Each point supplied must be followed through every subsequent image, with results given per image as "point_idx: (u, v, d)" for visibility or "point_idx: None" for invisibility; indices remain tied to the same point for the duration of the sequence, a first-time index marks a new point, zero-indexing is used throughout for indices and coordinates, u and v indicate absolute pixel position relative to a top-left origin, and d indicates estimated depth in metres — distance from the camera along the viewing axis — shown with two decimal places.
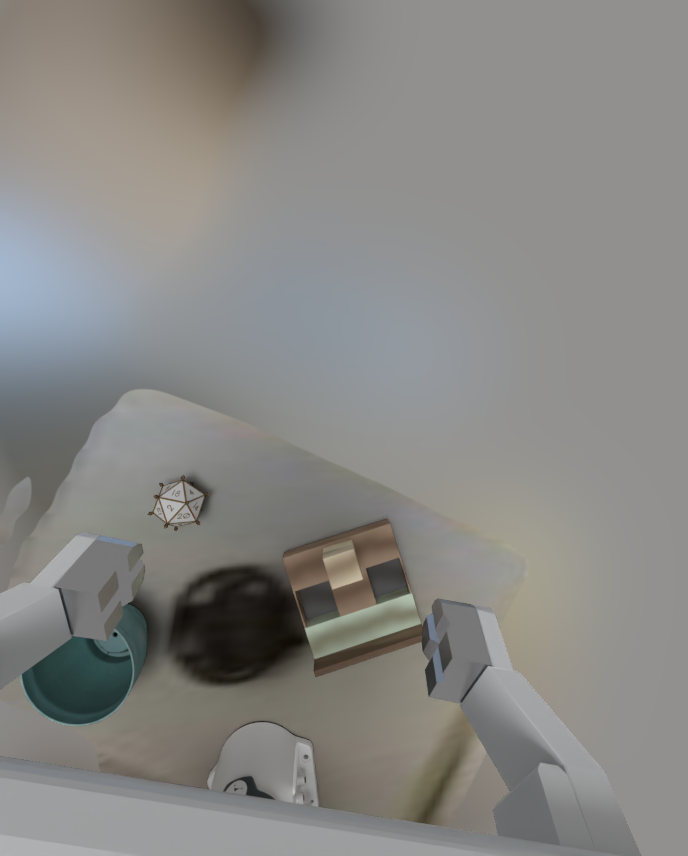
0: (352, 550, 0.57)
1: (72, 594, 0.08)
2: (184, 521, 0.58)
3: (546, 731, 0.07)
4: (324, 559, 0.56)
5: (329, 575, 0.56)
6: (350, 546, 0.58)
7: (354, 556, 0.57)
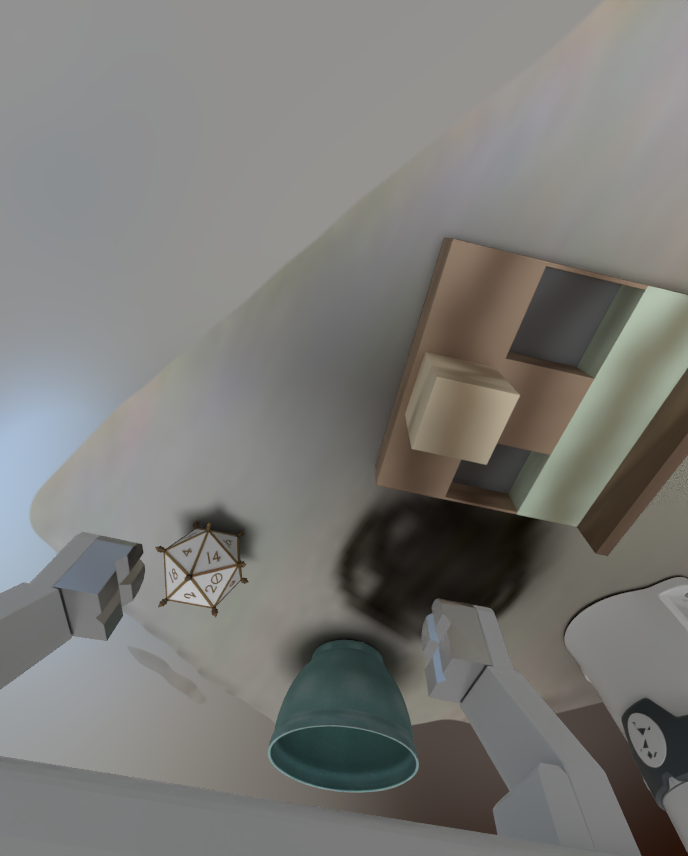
0: (438, 380, 0.21)
1: (72, 594, 0.08)
2: (226, 582, 0.34)
3: (546, 731, 0.07)
4: (414, 446, 0.23)
5: (454, 454, 0.23)
6: (430, 374, 0.22)
7: (455, 384, 0.21)
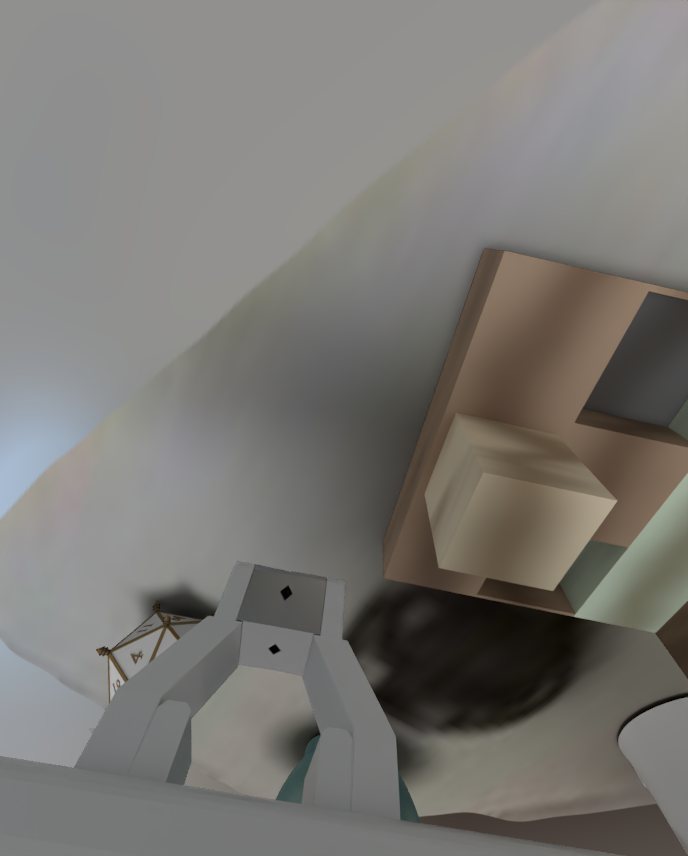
0: (485, 478, 0.13)
1: (252, 626, 0.08)
2: None
3: (349, 697, 0.07)
4: (444, 564, 0.15)
5: (504, 576, 0.15)
6: (469, 459, 0.15)
7: (512, 483, 0.13)
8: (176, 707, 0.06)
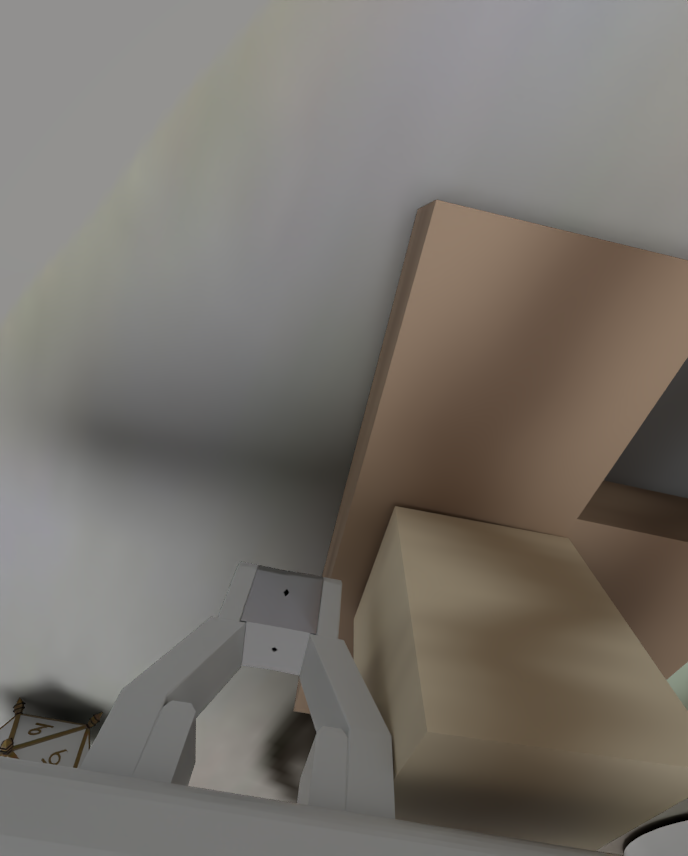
0: (433, 737, 0.06)
1: (255, 627, 0.08)
2: None
3: (344, 697, 0.07)
4: None
5: None
6: (406, 645, 0.07)
7: (495, 747, 0.06)
8: (180, 708, 0.06)
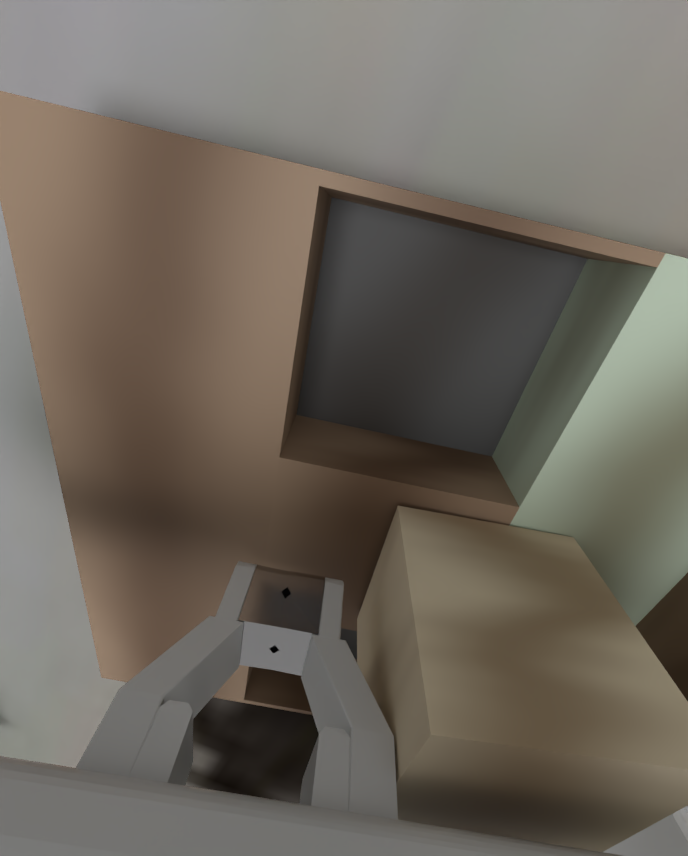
0: (437, 740, 0.05)
1: (253, 626, 0.08)
2: None
3: (346, 697, 0.07)
4: None
5: None
6: (410, 646, 0.07)
7: (500, 750, 0.06)
8: (178, 707, 0.06)
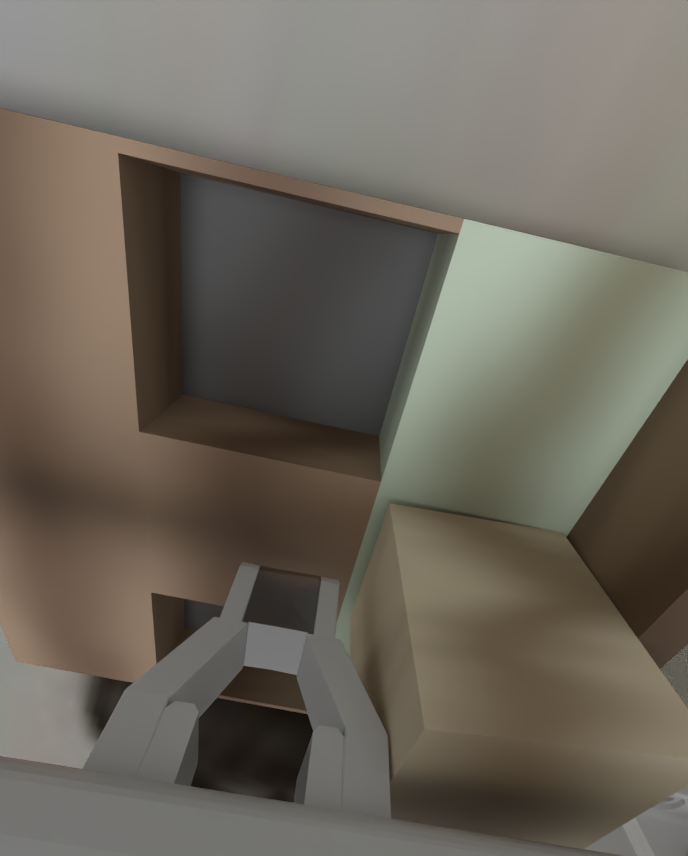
0: (431, 735, 0.06)
1: (258, 627, 0.08)
2: None
3: (340, 696, 0.07)
4: None
5: None
6: (403, 643, 0.07)
7: (493, 742, 0.06)
8: (183, 708, 0.06)
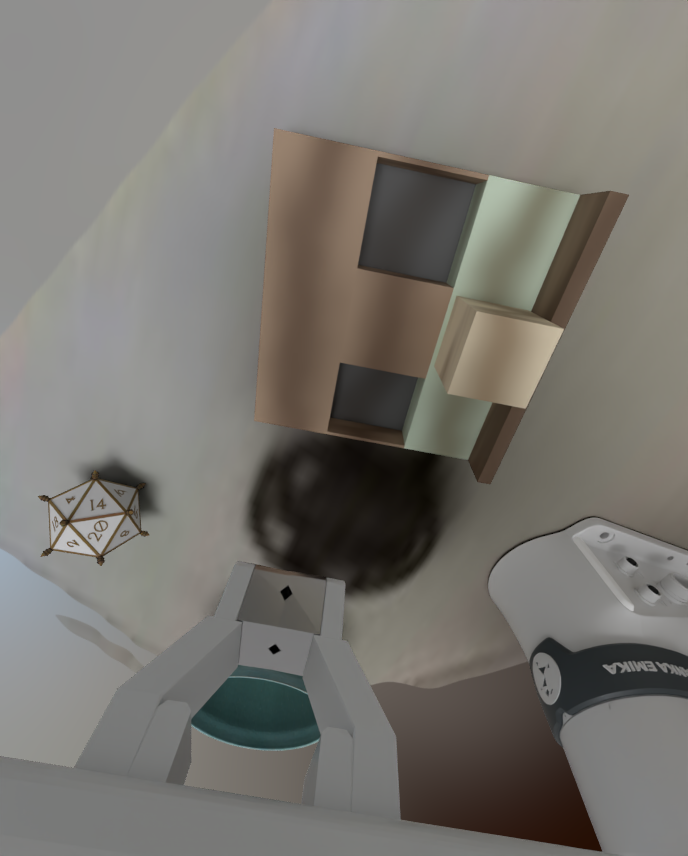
0: (478, 315, 0.20)
1: (252, 626, 0.08)
2: (113, 531, 0.33)
3: (349, 697, 0.07)
4: (451, 390, 0.22)
5: (492, 398, 0.22)
6: (467, 312, 0.21)
7: (495, 319, 0.20)
8: (176, 707, 0.06)
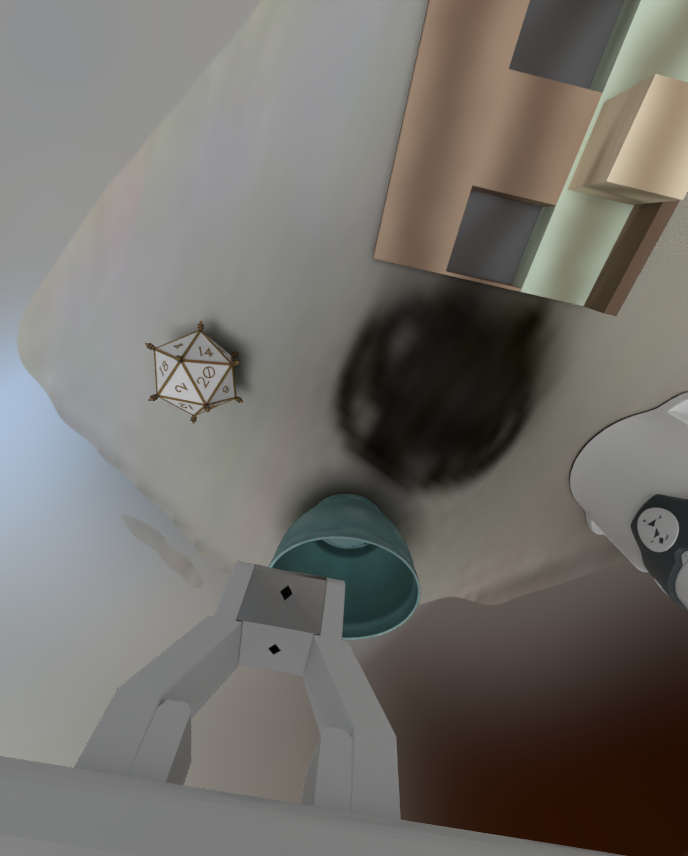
0: (655, 80, 0.20)
1: (252, 626, 0.08)
2: (219, 380, 0.33)
3: (348, 697, 0.07)
4: (610, 177, 0.22)
5: (650, 187, 0.22)
6: (633, 92, 0.22)
7: (672, 84, 0.20)
8: (176, 707, 0.06)
